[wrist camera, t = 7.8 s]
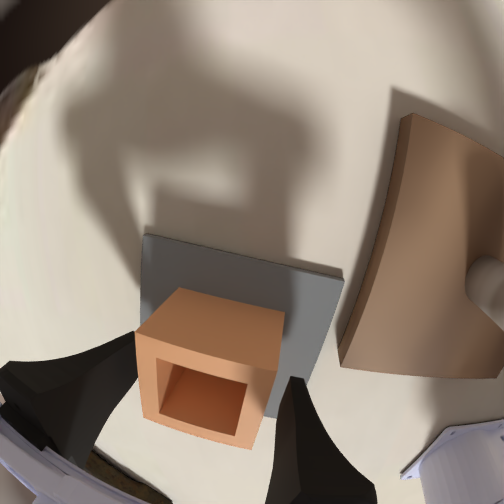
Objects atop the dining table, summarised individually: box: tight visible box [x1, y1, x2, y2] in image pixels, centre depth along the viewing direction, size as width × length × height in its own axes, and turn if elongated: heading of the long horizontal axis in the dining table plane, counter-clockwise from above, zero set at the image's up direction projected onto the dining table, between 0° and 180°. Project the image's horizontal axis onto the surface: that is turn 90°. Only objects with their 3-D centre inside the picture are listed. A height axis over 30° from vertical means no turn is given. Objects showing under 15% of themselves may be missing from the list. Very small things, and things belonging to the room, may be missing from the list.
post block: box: [338, 113, 504, 379], centre depth 8 cm, size 12×12×6 cm
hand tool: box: [83, 450, 173, 504], centre depth 22 cm, size 19×4×5 cm, turn 44°
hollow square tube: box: [135, 287, 285, 450], centre depth 12 cm, size 5×5×4 cm
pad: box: [140, 234, 345, 419], centre depth 15 cm, size 10×10×1 cm
